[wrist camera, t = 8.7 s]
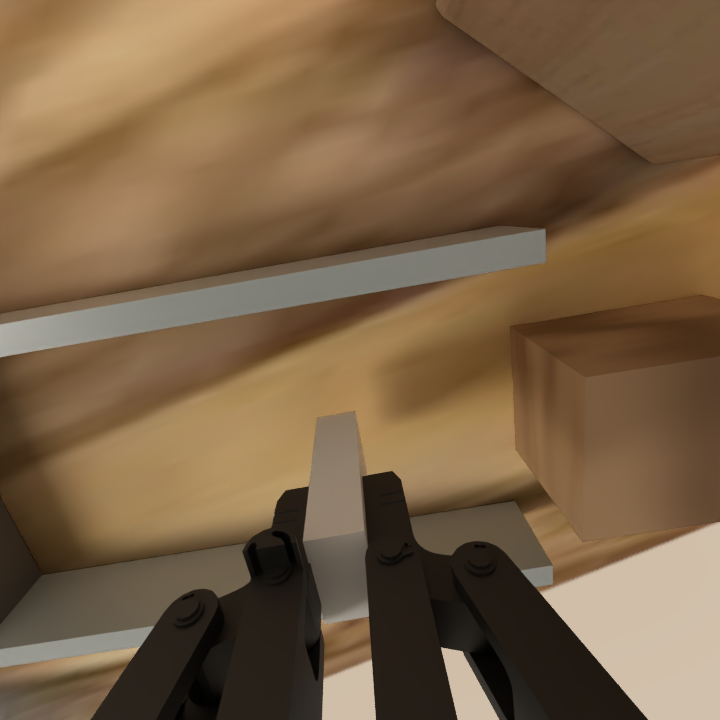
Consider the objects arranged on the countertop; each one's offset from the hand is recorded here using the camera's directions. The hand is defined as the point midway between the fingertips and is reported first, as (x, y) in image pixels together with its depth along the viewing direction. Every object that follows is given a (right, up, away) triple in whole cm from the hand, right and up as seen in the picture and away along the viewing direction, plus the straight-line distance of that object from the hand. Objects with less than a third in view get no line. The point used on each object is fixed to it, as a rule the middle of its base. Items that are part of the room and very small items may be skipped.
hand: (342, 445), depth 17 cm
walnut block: (+11, +3, +2) cm, 12 cm away
